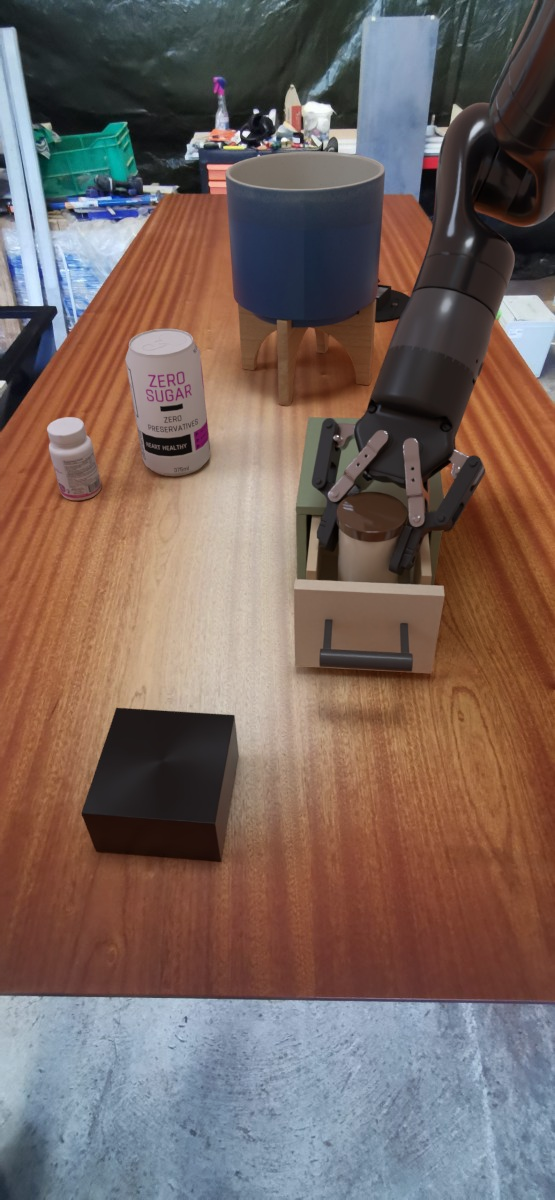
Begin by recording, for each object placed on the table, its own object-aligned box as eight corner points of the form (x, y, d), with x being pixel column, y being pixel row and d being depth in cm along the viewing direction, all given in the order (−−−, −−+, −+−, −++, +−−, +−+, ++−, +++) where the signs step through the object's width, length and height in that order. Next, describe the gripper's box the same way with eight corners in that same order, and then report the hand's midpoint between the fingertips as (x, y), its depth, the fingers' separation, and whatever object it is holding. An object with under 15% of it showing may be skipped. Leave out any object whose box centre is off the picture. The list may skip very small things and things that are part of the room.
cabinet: (431, 604, 70) (445, 511, 63) (297, 598, 71) (295, 506, 64) (423, 507, 82) (434, 419, 74) (308, 503, 83) (308, 416, 76)
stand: (238, 754, 58) (234, 714, 54) (221, 861, 51) (215, 823, 48) (127, 747, 59) (116, 707, 55) (95, 851, 52) (80, 813, 49)
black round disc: (344, 284, 133) (346, 252, 129) (425, 295, 128) (428, 262, 124) (311, 314, 123) (311, 280, 119) (396, 328, 118) (399, 293, 114)
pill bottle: (57, 484, 87) (40, 420, 81) (97, 475, 88) (83, 411, 83) (64, 505, 84) (46, 440, 78) (105, 496, 85) (91, 431, 79)
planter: (265, 341, 116) (258, 148, 98) (385, 355, 111) (400, 154, 93) (218, 396, 102) (199, 184, 85) (352, 415, 97) (362, 194, 80)
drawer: (434, 717, 59) (449, 639, 53) (290, 708, 60) (288, 631, 54) (423, 563, 73) (433, 488, 67) (306, 559, 74) (306, 484, 68)
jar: (398, 575, 66) (406, 491, 60) (399, 618, 62) (408, 533, 56) (335, 573, 67) (338, 490, 61) (333, 616, 63) (335, 531, 57)
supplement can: (185, 436, 94) (170, 320, 84) (224, 462, 90) (213, 341, 80) (131, 459, 91) (109, 340, 81) (168, 487, 86) (150, 364, 76)
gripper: (338, 326, 59) (266, 526, 59) (516, 362, 53) (435, 583, 53) (364, 364, 65) (299, 543, 66) (524, 399, 60) (451, 594, 60)
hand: (360, 560), depth 60 cm, fingers closed on jar, 5 cm apart
